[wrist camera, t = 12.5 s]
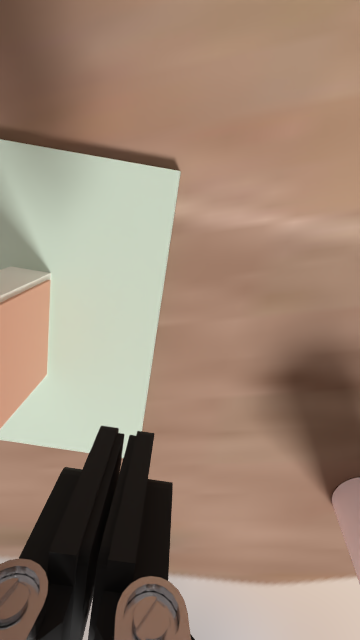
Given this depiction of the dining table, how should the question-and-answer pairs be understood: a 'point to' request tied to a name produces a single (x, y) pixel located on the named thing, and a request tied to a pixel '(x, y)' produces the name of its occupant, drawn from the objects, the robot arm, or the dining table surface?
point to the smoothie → (349, 517)
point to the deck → (22, 335)
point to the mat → (88, 285)
